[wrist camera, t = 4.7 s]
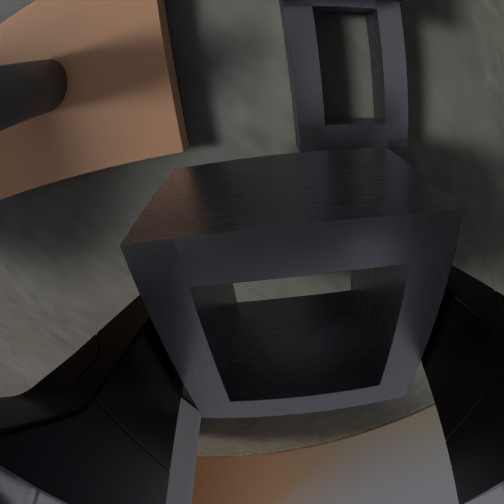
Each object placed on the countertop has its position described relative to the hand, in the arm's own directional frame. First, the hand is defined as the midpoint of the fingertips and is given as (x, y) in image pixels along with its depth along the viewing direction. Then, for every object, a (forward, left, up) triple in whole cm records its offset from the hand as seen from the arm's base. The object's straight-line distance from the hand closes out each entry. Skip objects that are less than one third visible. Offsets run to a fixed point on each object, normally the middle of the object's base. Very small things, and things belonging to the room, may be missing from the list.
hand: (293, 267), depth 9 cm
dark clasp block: (-3, -7, -4) cm, 9 cm away
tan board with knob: (+8, -7, -4) cm, 12 cm away
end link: (0, 0, -1) cm, 1 cm away
